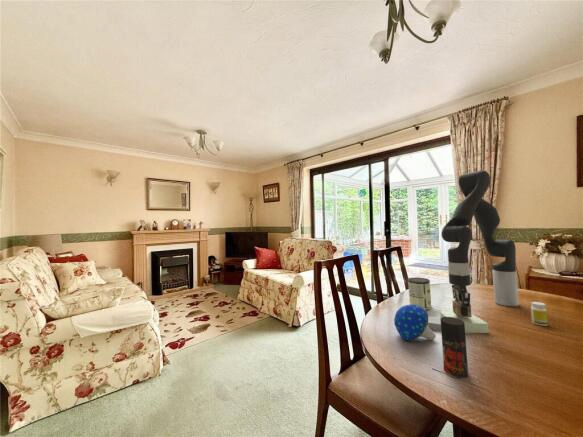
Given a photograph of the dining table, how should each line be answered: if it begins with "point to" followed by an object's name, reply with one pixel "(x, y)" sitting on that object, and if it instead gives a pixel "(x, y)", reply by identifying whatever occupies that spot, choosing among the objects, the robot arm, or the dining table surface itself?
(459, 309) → the walnut cube
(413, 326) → the mushroom
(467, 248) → the robot arm
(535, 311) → the supplement bottle
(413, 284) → the coffee can
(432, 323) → the slate block
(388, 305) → the dining table surface
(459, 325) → the deodorant
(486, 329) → the sage block
